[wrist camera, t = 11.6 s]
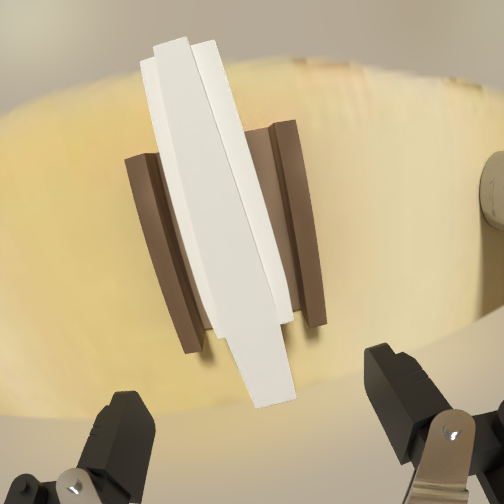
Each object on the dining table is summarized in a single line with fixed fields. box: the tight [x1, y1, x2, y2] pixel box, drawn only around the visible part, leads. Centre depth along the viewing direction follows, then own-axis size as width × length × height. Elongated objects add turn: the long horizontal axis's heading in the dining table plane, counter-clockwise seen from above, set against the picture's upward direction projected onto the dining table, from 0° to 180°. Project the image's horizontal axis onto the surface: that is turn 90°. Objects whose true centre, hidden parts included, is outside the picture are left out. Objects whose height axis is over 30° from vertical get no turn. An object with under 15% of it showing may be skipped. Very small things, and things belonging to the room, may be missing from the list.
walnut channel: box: [125, 120, 327, 354], centre depth 24 cm, size 12×16×4 cm
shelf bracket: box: [140, 37, 297, 409], centre depth 21 cm, size 6×25×13 cm, turn 14°
